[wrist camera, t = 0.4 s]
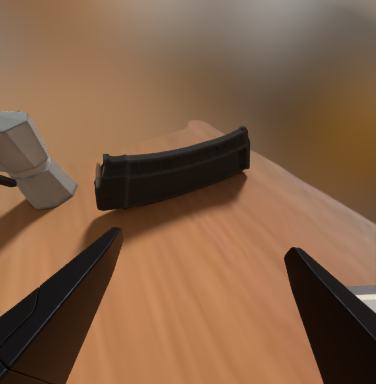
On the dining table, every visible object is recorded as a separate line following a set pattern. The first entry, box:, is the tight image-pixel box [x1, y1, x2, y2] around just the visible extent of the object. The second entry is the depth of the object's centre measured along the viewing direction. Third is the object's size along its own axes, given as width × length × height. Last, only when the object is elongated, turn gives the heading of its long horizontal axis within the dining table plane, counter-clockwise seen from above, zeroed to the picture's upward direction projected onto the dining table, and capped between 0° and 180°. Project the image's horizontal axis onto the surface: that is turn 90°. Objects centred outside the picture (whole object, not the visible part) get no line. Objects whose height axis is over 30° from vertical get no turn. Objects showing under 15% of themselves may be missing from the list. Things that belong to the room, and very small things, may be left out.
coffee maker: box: [0, 111, 78, 210], centre depth 26 cm, size 15×9×18 cm, turn 10°
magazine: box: [94, 126, 250, 211], centre depth 30 cm, size 17×3×30 cm
